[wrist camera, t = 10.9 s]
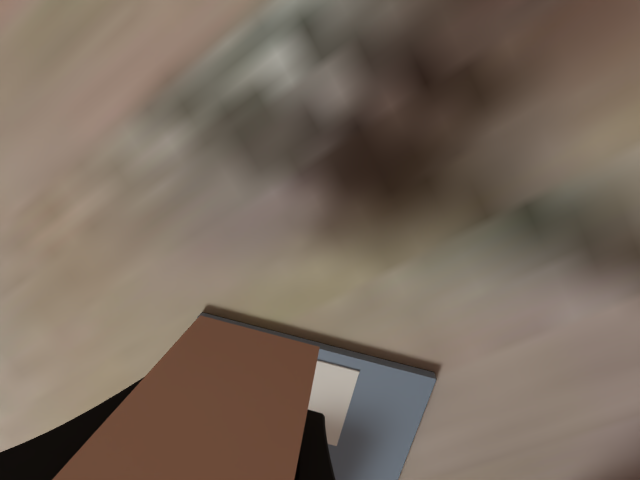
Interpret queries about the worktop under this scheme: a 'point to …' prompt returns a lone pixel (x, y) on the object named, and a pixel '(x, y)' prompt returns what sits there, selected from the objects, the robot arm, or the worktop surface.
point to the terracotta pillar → (208, 412)
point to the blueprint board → (364, 408)
